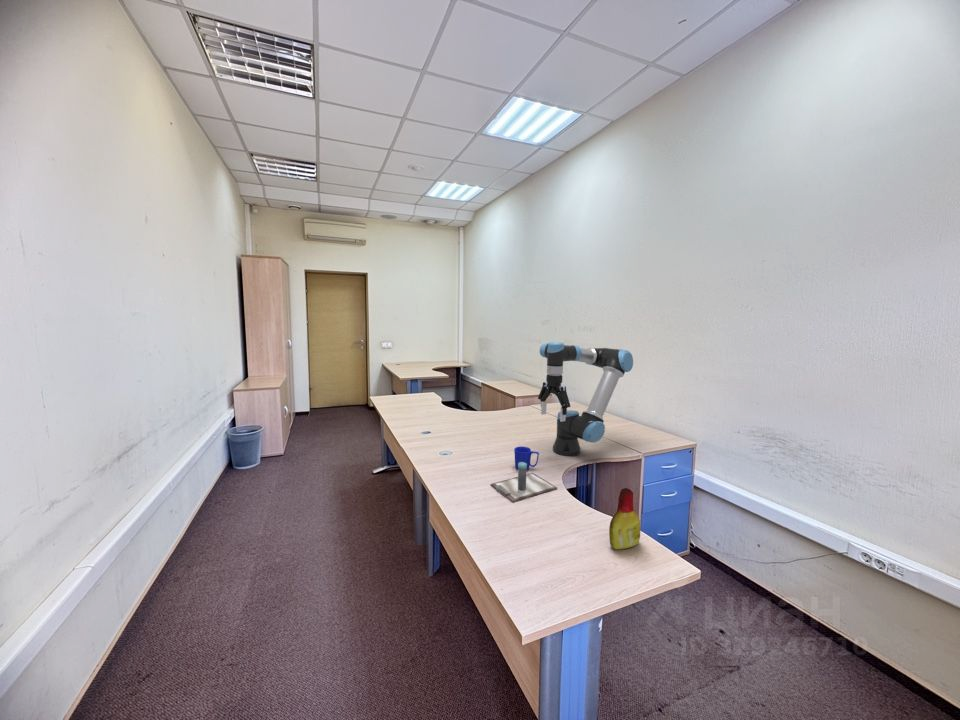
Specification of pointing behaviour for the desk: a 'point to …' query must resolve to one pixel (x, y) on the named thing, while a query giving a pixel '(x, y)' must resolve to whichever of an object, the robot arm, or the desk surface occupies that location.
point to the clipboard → (533, 487)
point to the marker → (522, 477)
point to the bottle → (624, 523)
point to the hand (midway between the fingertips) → (552, 417)
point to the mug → (524, 456)
